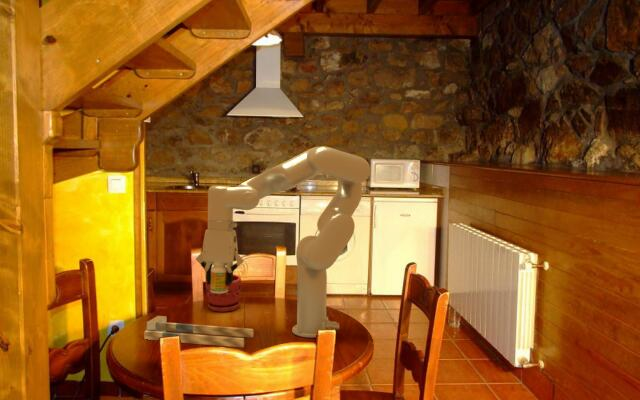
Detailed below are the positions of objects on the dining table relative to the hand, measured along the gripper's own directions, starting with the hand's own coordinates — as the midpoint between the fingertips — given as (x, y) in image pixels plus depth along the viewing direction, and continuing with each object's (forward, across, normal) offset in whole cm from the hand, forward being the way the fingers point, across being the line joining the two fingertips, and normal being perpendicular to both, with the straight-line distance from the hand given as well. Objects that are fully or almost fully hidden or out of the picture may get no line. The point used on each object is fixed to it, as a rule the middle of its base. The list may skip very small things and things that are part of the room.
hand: (219, 283), depth 159 cm
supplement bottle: (+3, 0, 0) cm, 3 cm away
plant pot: (+18, +11, -34) cm, 40 cm away
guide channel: (+18, +6, 0) cm, 19 cm away
